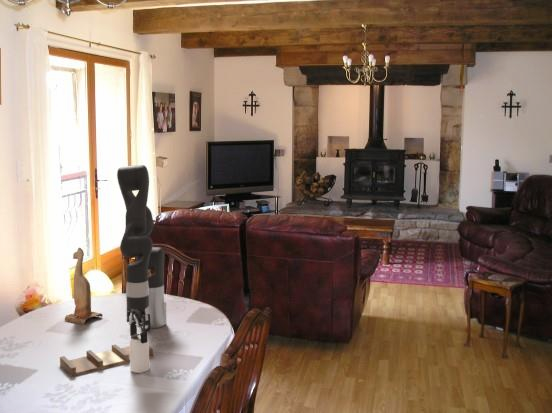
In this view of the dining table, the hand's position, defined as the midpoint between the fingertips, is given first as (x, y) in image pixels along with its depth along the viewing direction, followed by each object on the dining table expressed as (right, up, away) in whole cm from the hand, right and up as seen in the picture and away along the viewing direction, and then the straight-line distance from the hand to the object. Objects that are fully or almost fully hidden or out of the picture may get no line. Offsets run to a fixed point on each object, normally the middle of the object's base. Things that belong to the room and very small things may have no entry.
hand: (138, 339), depth 211 cm
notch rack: (-13, -10, +9) cm, 19 cm away
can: (0, -11, +2) cm, 11 cm away
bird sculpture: (-35, -3, +53) cm, 64 cm away
